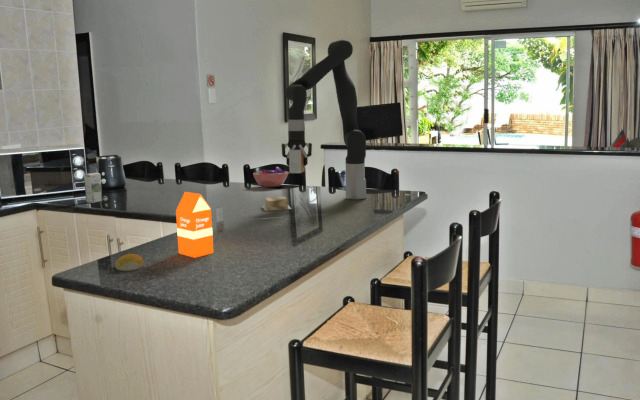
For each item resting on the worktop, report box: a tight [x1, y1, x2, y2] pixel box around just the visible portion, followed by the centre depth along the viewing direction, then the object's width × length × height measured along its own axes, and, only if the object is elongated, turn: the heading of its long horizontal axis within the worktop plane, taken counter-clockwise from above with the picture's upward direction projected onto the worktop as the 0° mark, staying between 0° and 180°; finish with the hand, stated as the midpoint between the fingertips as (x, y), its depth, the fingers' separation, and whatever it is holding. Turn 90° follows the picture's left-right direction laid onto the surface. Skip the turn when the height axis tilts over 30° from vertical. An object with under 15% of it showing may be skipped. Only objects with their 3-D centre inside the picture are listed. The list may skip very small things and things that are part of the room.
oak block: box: [264, 196, 289, 211], centre depth 263 cm, size 9×9×4 cm
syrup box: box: [83, 172, 103, 204], centre depth 291 cm, size 6×6×14 cm
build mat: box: [261, 204, 292, 212], centre depth 263 cm, size 12×10×1 cm
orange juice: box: [175, 191, 214, 259], centre depth 190 cm, size 8×9×20 cm
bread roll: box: [114, 253, 145, 272], centre depth 177 cm, size 8×9×4 cm
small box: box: [288, 149, 306, 174], centre depth 267 cm, size 8×6×10 cm
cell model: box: [252, 166, 290, 188], centre depth 327 cm, size 17×20×11 cm
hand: (297, 165), depth 268 cm, fingers closed on small box, 7 cm apart
